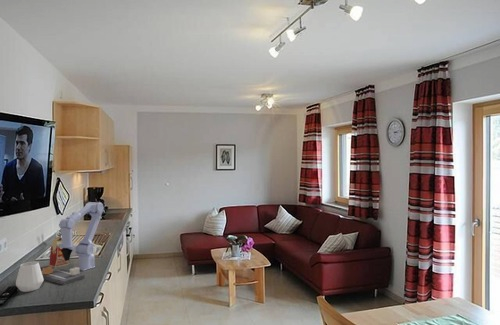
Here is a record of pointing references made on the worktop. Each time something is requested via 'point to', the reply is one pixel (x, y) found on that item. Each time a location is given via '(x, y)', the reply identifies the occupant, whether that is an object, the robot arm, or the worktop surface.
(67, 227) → the robot arm
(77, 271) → the block
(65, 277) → the mixing panel
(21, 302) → the worktop surface
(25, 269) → the cup
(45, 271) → the fader orange
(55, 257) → the milk carton
